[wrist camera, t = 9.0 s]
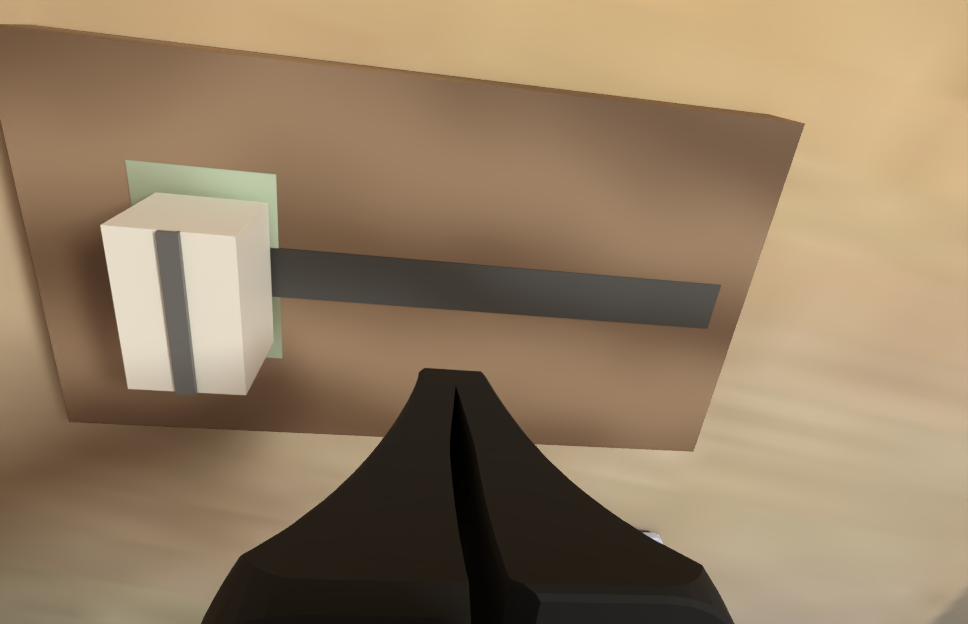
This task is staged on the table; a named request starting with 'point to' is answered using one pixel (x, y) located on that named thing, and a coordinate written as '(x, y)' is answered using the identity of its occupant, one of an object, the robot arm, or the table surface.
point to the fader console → (401, 232)
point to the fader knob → (191, 292)
